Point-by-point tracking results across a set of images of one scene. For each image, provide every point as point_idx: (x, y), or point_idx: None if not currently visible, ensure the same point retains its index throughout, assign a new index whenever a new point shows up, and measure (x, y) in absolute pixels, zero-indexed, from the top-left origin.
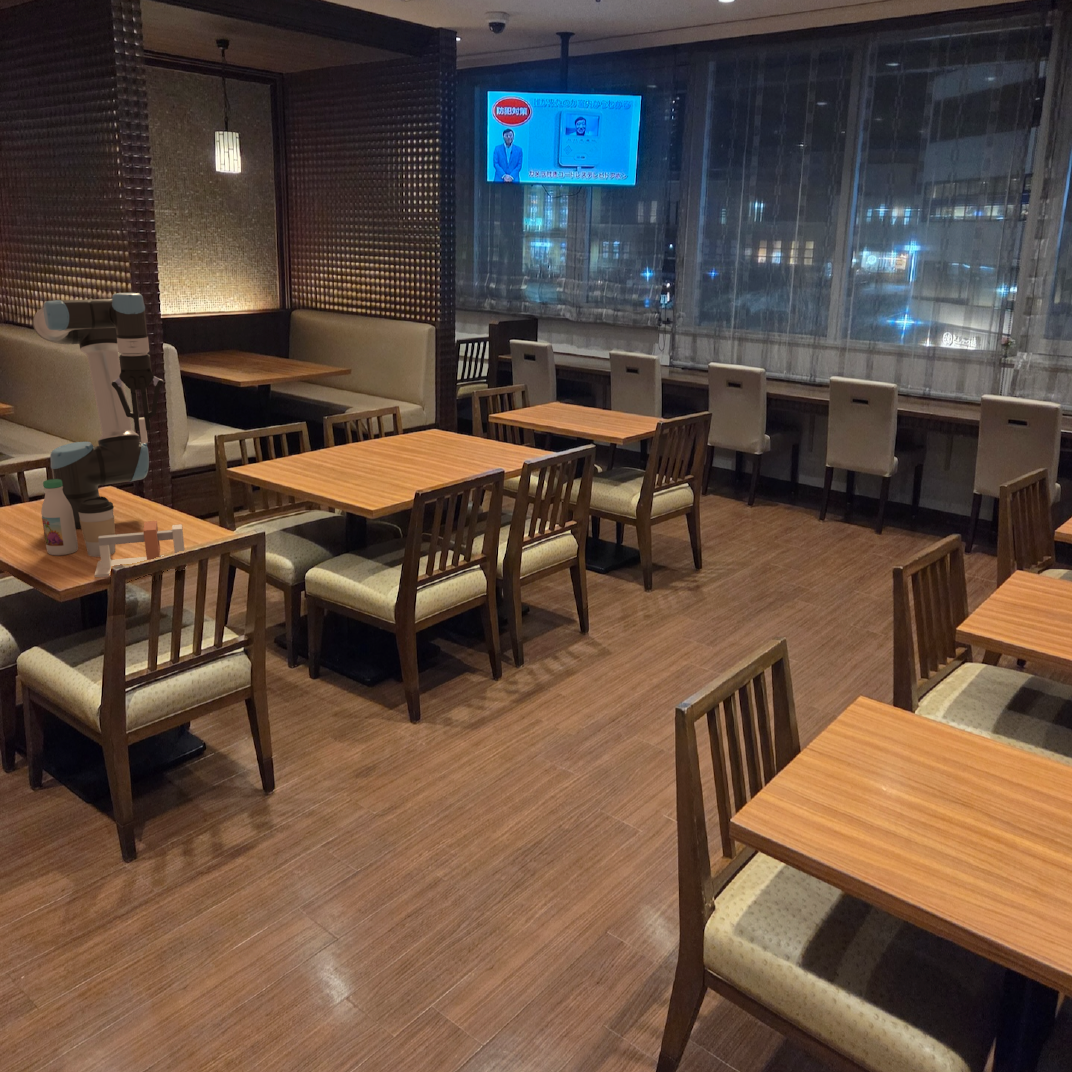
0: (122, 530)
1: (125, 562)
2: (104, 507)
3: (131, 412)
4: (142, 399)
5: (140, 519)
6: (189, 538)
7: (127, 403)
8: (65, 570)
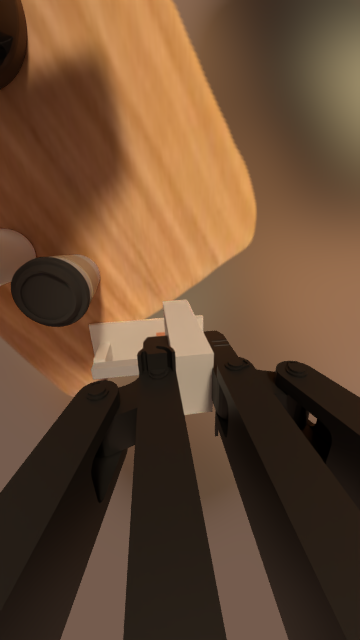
0: (83, 139)
1: (127, 338)
2: (76, 318)
3: (124, 427)
4: (281, 605)
5: (103, 46)
6: (206, 232)
7: (71, 513)
8: (51, 340)
